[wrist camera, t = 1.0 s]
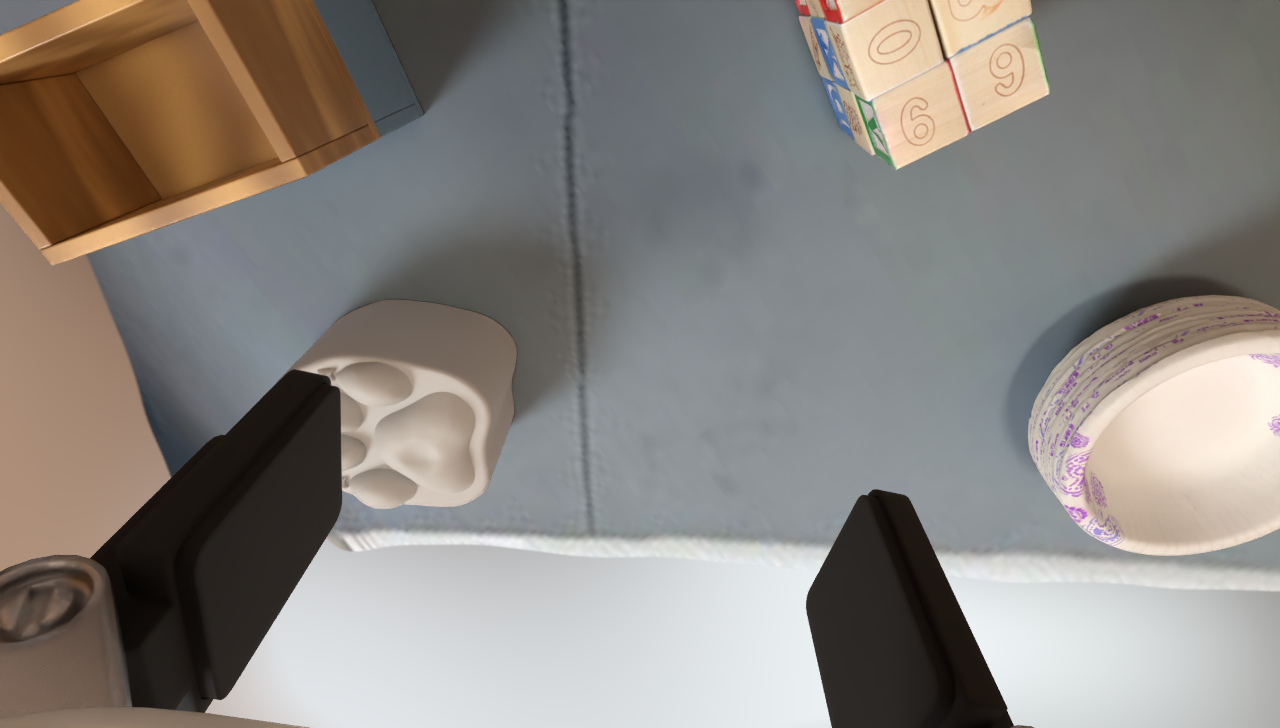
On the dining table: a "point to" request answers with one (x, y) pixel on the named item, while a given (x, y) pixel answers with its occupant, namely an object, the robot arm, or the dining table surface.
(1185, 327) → the paper bowls
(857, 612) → the robot arm
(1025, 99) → the stack of blocks
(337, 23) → the blue basket
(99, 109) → the wooden basket
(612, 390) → the dining table surface
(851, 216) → the dining table surface
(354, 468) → the lumpy-topped squat cylinder
